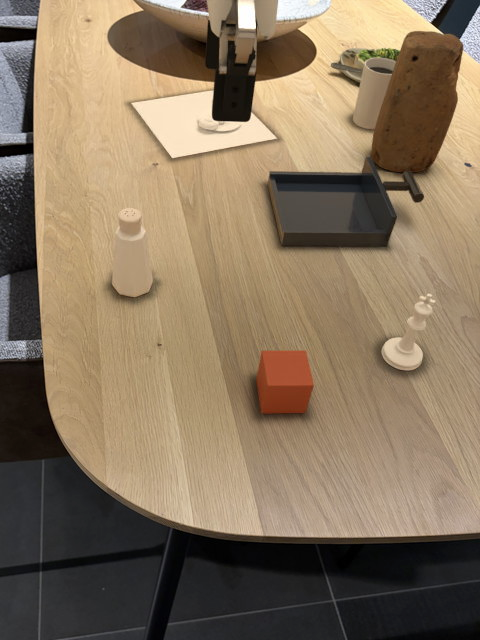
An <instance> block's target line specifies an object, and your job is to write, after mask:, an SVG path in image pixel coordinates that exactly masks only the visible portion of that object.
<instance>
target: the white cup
mask: <svg viewBox="0 0 480 640" xmlns="http://www.w3.org/2000/svg"><path fill="white" fill-rule="evenodd" d="M395 63H396V61H394V60H390V59H387V58H371V59H368V60H366V61H365V63H364V68H363V73H362V78H361V82H360V83H359V88H358V92H357V98H356V102H355V107H354V110H353V116H352V122H353V123H354V124H355V125H356V126H358V127H360V128H362V129H366V130H375V126H376V122H377V119H378V116H379V113H380V109H381V106H382V103H383V100H384V97H385V94H386V90H387V87H388V84H389V81H390V78H391V75H392V72H393V69H394V66H395Z"/></svg>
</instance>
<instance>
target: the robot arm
mask: <svg viewBox="0 0 480 640" xmlns="http://www.w3.org/2000/svg"><path fill="white" fill-rule="evenodd" d="M206 5H207V6H206V7H207V13H208V18H209V19H207V29H206V31H207V32H206V41H205V42H206V44H205V46H206V47H205V58H204V64H205V65H204V66H205V67H206V68H207V69H208V70H214V78H213V79H214V80H213V90H214V91H213V104H212V118H213V120H215V121H229V122H248V121H249V120H250V118H251V112H252V110H253V103H254V95H255V87H256V79H257V46H258V45H257V44H258V33H259V36H260V37H263V39H265V40H270V39H271V38H272V37H273V36H274V35H275V33H276V25H277V15H278V7H279V0H206Z"/></svg>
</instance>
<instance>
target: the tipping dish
mask: <svg viewBox="0 0 480 640" xmlns="http://www.w3.org/2000/svg"><path fill="white" fill-rule="evenodd" d="M401 179H402V181H391V180H389V181H388V180H384V181H382V179H381V176H380V174H379V172H378V169H377V167H376V165H375V162H374V161H373V160H372V156H366V157H365V159H364V162H363V165H362V169H361V172H348V171H347V172H346V171H345V172H341V171H338V172H337V171H286V170H285V171H283V170H282V171H279V170H277V171H276V170H275V171H274V170H270V171H269V172H268V179H267V188H268V193H269V196H270V197H269V198H270V201H271V202H270V203H271V205H272V209H273V215H274V218H275V223H276V228H277V231H278V236H279V240H280V244H281V247H294V246H295V247H388V245H389V242H390V239H391V237H392V235H393V230H394V228H395V225H396V222H397V221H398V215H397V212H396V210H395V207H394V204H393V203H392V201H391V198H390V196H389V194H388V192H408V194H410V195H409V196H410V197H411V200H412V201H413V202H414V203H415V204H418V203H421V202H422V201H423V200H424V199H425V194H424V191H422V189H421V187H420V185H419V183H418V181H417V179H416V177H415V174H414V172H411V171H405V172H402V175H401Z"/></svg>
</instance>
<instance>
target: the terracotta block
mask: <svg viewBox="0 0 480 640" xmlns="http://www.w3.org/2000/svg"><path fill="white" fill-rule="evenodd" d="M255 381H256V387H257V394H258V401H259V407H260V413H261V415H263V414H264V415H265V414H266V415H267V414H268V415H269V414H306V412H307V409H308V406H309V402H310V399H311V396H312V393H313V389H314V386H315V384H314V379H313V375H312V370H311V367H310V361H309V357H308V353H307V350H305V349H303V350H300V349H299V350H261V353H260V357H259V363H258V366H257V373H256V378H255Z"/></svg>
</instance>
